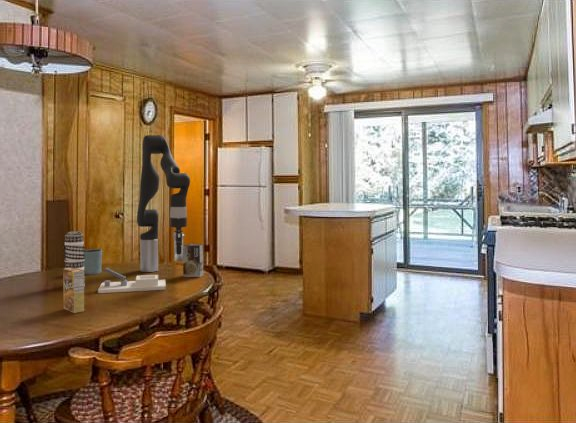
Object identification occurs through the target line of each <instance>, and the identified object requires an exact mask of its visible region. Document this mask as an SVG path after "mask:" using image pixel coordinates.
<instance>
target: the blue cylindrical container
mask: <svg viewBox="0 0 576 423" xmlns="http://www.w3.org/2000/svg"><path fill="white" fill-rule="evenodd" d="M84 250H85V252H83V254H85V256H83V257H84V258H85V260H84V261H83V262H84V270H85V272H84V274H85V275H99V274H101V273H102V262H103V261H102V260H103V258H102V257H103V249H101V248H92V249H91V248H90V249H84Z"/></svg>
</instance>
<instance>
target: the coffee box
mask: <svg viewBox="0 0 576 423" xmlns="http://www.w3.org/2000/svg"><path fill="white" fill-rule="evenodd" d="M182 269H183V270H182V271H183V272H182V277H183V278H201V277H203V276H204V244H203V243H201V244H200V243H197V244H196V243H191V244H190V243H188V244H187V243H186V244H183V261H182Z"/></svg>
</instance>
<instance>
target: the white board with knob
mask: <svg viewBox="0 0 576 423" xmlns="http://www.w3.org/2000/svg"><path fill="white" fill-rule="evenodd" d="M166 286H167V284H166V279H159V274H146V275H136V277H135V280H129V281H128V280H127V279H125V280H124V281H123V280H122V279H120V281H111V280H110V279H109V280H104V282H102V283H101V284H100V286H99V287H98V289H97V294H106V293H108V294H110V293H111V294H112V293H128V292H129V293H130V292H145V291H146V292H147V291H163V290H165V291H166Z"/></svg>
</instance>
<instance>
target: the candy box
mask: <svg viewBox="0 0 576 423" xmlns="http://www.w3.org/2000/svg"><path fill="white" fill-rule="evenodd" d="M62 274H63V275H62V277H63V278H62V281H63V282H62V283H63V284H62V286H63V288H62V290H63V293H62V296H63V299H62V300H63V309H64V310H66V311H69V312H71V313H72V314H77V313H83V312H85V286H84V284H85V283H84V281H85V280H84V277H85V275H84V270H80V269H76V268H66V267H65V268H63V269H62Z"/></svg>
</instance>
